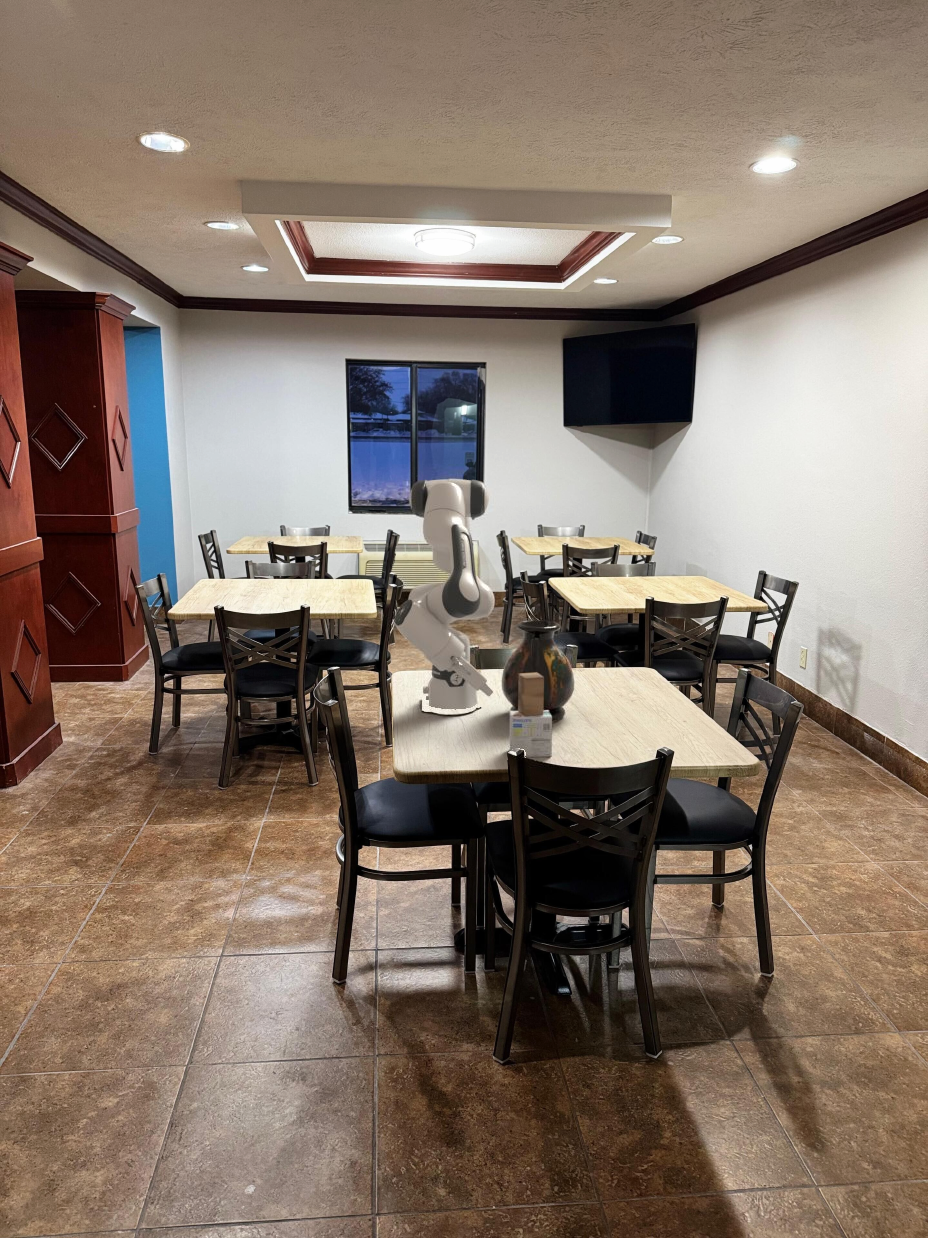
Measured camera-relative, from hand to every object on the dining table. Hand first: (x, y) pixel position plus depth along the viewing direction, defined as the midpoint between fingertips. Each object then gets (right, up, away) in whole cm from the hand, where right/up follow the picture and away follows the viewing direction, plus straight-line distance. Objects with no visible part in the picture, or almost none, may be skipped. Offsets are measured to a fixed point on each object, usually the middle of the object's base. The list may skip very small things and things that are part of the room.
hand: (485, 689), depth 213 cm
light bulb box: (+12, -17, +6) cm, 22 cm away
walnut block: (+12, -7, +4) cm, 14 cm away
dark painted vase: (+16, -12, +39) cm, 44 cm away
